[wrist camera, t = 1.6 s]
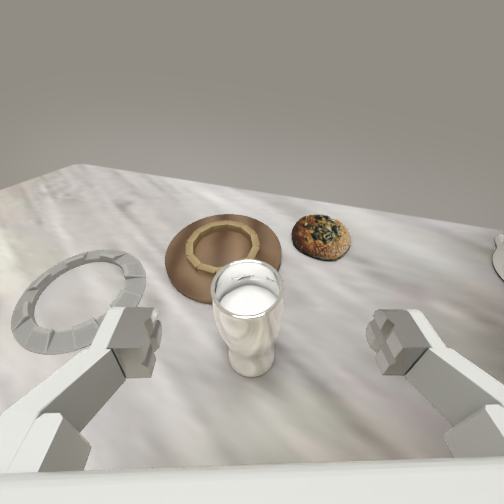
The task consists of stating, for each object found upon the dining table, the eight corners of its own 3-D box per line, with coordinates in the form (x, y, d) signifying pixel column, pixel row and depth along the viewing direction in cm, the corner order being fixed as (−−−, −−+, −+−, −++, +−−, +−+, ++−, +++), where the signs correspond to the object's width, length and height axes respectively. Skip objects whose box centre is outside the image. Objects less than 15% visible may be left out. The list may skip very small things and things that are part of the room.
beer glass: (216, 344, 35) (196, 275, 24) (260, 320, 37) (259, 247, 26) (241, 393, 31) (230, 336, 20) (288, 362, 33) (302, 296, 22)
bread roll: (278, 233, 50) (284, 211, 46) (321, 219, 55) (329, 199, 51) (316, 272, 44) (325, 251, 40) (360, 253, 48) (372, 233, 45)
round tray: (268, 214, 54) (268, 202, 52) (294, 294, 40) (296, 282, 38) (170, 226, 52) (166, 214, 50) (163, 314, 38) (157, 303, 36)
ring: (49, 387, 32) (39, 382, 31) (-6, 305, 41) (-16, 298, 39) (170, 285, 43) (167, 278, 41) (106, 237, 51) (102, 229, 50)
